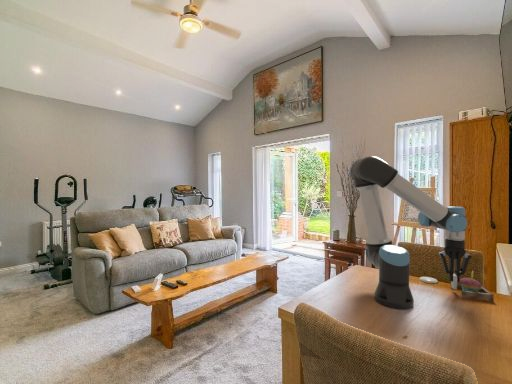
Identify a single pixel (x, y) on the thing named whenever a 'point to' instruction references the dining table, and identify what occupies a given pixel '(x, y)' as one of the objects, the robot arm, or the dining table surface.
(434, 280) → the white round domed disc
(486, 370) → the dining table surface
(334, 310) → the dining table surface
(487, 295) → the bay
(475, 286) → the cupcake
